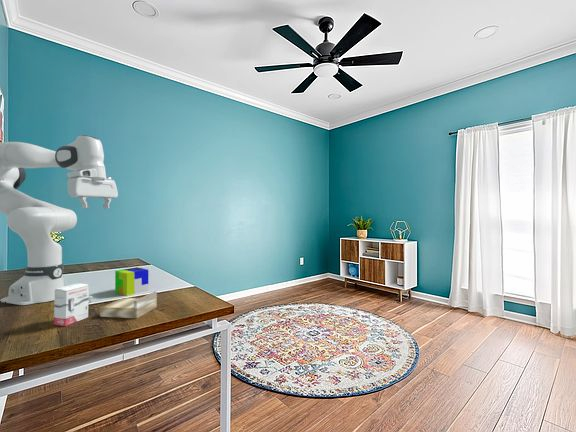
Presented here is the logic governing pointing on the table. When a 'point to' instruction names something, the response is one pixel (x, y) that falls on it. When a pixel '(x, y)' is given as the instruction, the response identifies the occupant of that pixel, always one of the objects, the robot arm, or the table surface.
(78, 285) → the ink box
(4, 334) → the table surface
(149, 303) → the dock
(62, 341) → the table surface
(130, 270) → the puzzle toy
